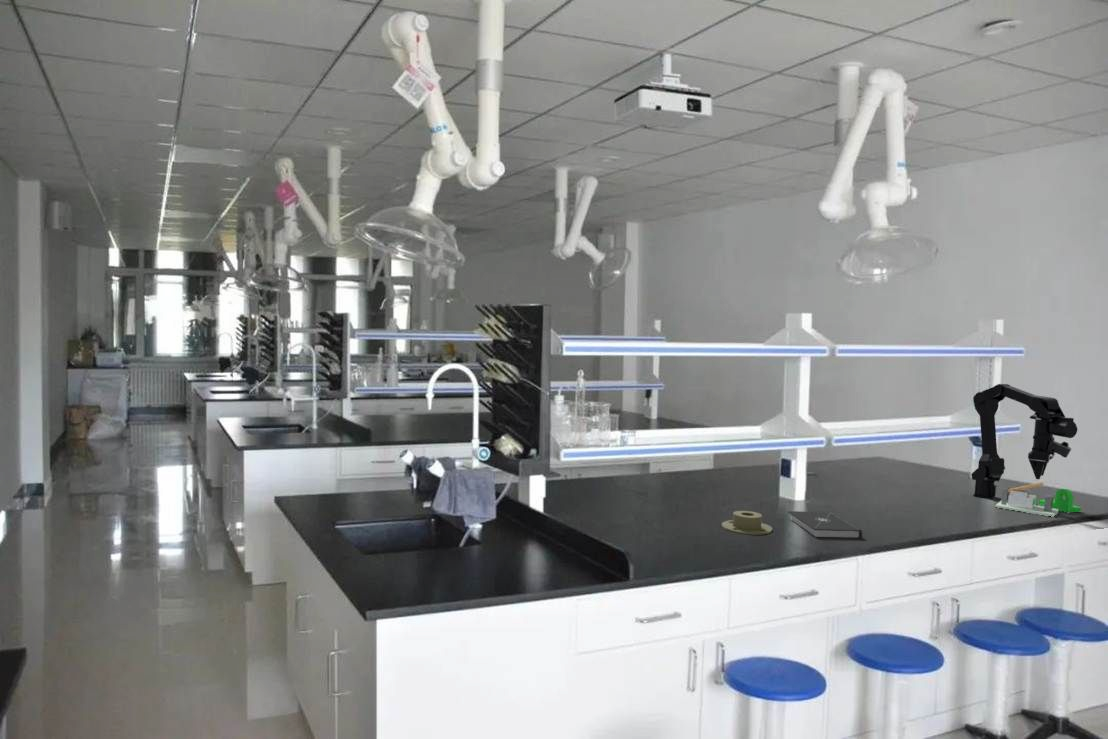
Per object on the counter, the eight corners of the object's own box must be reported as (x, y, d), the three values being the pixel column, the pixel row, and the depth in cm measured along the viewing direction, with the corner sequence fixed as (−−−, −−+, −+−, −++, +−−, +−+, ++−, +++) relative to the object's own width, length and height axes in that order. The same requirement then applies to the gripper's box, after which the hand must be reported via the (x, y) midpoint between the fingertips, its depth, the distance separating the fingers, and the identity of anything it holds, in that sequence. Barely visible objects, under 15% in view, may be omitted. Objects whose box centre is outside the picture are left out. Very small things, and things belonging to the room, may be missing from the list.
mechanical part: (1080, 513, 290) (1082, 490, 289) (1067, 513, 288) (1069, 491, 288) (1051, 504, 302) (1053, 483, 301) (1038, 505, 300) (1040, 483, 299)
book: (862, 540, 243) (862, 530, 243) (813, 539, 242) (814, 529, 242) (831, 521, 265) (832, 512, 265) (787, 520, 264) (787, 511, 263)
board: (995, 507, 292) (995, 505, 291) (1001, 502, 301) (1001, 499, 301) (1053, 517, 280) (1054, 514, 280) (1058, 511, 290) (1059, 508, 290)
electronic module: (1000, 504, 293) (1001, 489, 292) (1004, 501, 298) (1005, 486, 298) (1049, 512, 283) (1051, 496, 283) (1052, 509, 289) (1054, 493, 288)
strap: (1003, 493, 294) (1002, 490, 294) (1005, 492, 296) (1004, 489, 296) (1042, 486, 286) (1041, 482, 286) (1044, 484, 288) (1042, 481, 289)
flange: (742, 505, 260) (712, 512, 250) (783, 516, 249) (753, 523, 239) (741, 520, 260) (711, 527, 250) (782, 531, 249) (752, 538, 239)
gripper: (1067, 439, 275) (1063, 485, 276) (1073, 433, 290) (1069, 477, 291) (1029, 434, 282) (1025, 479, 283) (1037, 429, 297) (1033, 472, 298)
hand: (1039, 477), depth 289 cm, fingers open, 9 cm apart
